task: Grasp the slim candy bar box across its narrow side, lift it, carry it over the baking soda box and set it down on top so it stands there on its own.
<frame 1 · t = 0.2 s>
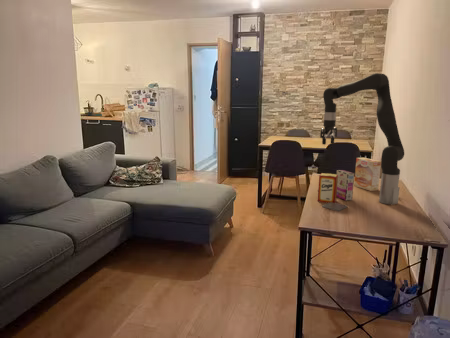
hand: (328, 143, 233), 29 cm above the table, fingers open, 8 cm apart
candy bar box: (343, 198, 212), on the table
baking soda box: (326, 201, 206), on the table
slate coaster: (334, 207, 195), on the table
condiment: (326, 192, 226), on the table
coffeecake box: (365, 188, 236), on the table
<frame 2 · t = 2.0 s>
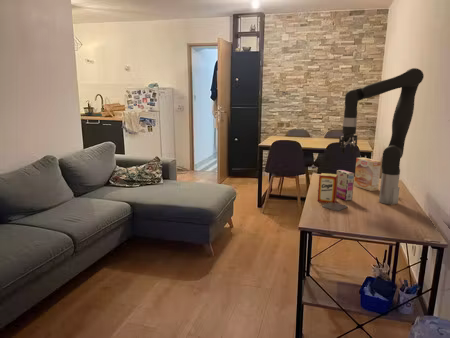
hand: (347, 153, 206), 27 cm above the table, fingers open, 8 cm apart
nothing on the table moved.
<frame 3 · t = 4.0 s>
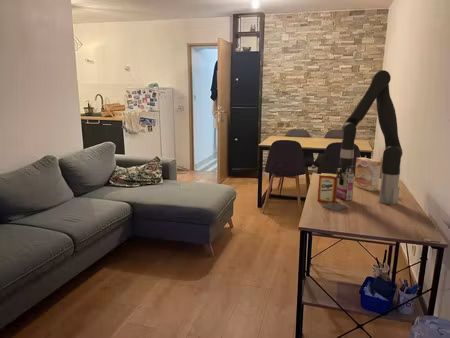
hand: (344, 184, 210), 9 cm above the table, fingers closed on candy bar box, 6 cm apart
candy bar box: (343, 198, 212), on the table, touching gripper
everything else where it was.
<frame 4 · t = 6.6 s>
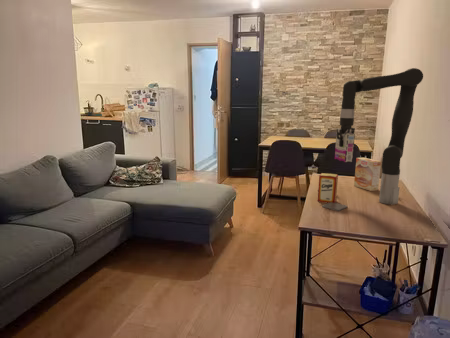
hand: (344, 146, 204), 32 cm above the table, fingers closed on candy bar box, 6 cm apart
candy bar box: (343, 160, 206), point 23 cm above the table, touching gripper
everything else where it was.
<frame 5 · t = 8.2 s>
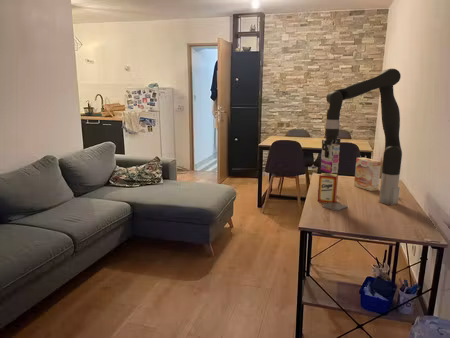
hand: (330, 157, 201), 26 cm above the table, fingers closed on candy bar box, 6 cm apart
candy bar box: (329, 172, 203), point 17 cm above the table, touching gripper
everything else where it was.
when the fingers open (25 cm above the table, at t = 9.2 s): candy bar box stays where it is, resting on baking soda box.
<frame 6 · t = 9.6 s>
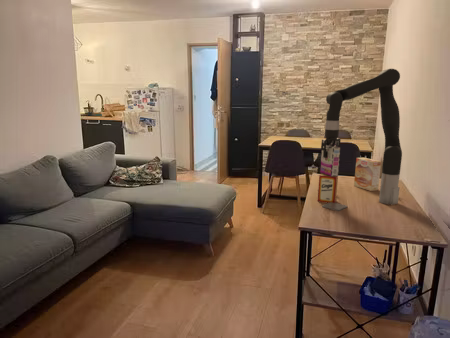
hand: (330, 157, 201), 26 cm above the table, fingers open, 8 cm apart
candy bar box: (329, 174, 203), point 16 cm above the table, touching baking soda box
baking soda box: (326, 201, 206), on the table, touching candy bar box
everything else where it was.
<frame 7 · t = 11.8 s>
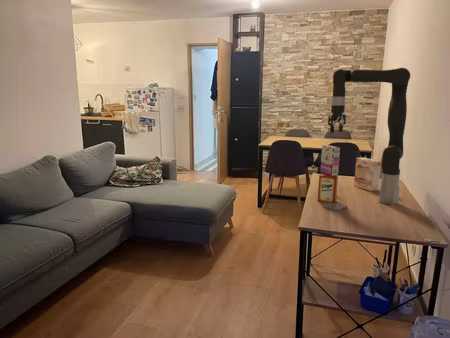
hand: (336, 132, 209), 39 cm above the table, fingers open, 8 cm apart
nothing on the table moved.
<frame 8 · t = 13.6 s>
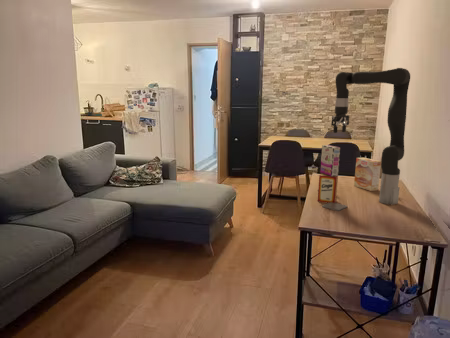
hand: (339, 132, 218), 38 cm above the table, fingers open, 8 cm apart
nothing on the table moved.
at the end: candy bar box inside the target area on the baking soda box (0.2 cm from its centre), point 16.0 cm above the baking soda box's base; candy bar box tilted 0°; the gripper is holding nothing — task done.
